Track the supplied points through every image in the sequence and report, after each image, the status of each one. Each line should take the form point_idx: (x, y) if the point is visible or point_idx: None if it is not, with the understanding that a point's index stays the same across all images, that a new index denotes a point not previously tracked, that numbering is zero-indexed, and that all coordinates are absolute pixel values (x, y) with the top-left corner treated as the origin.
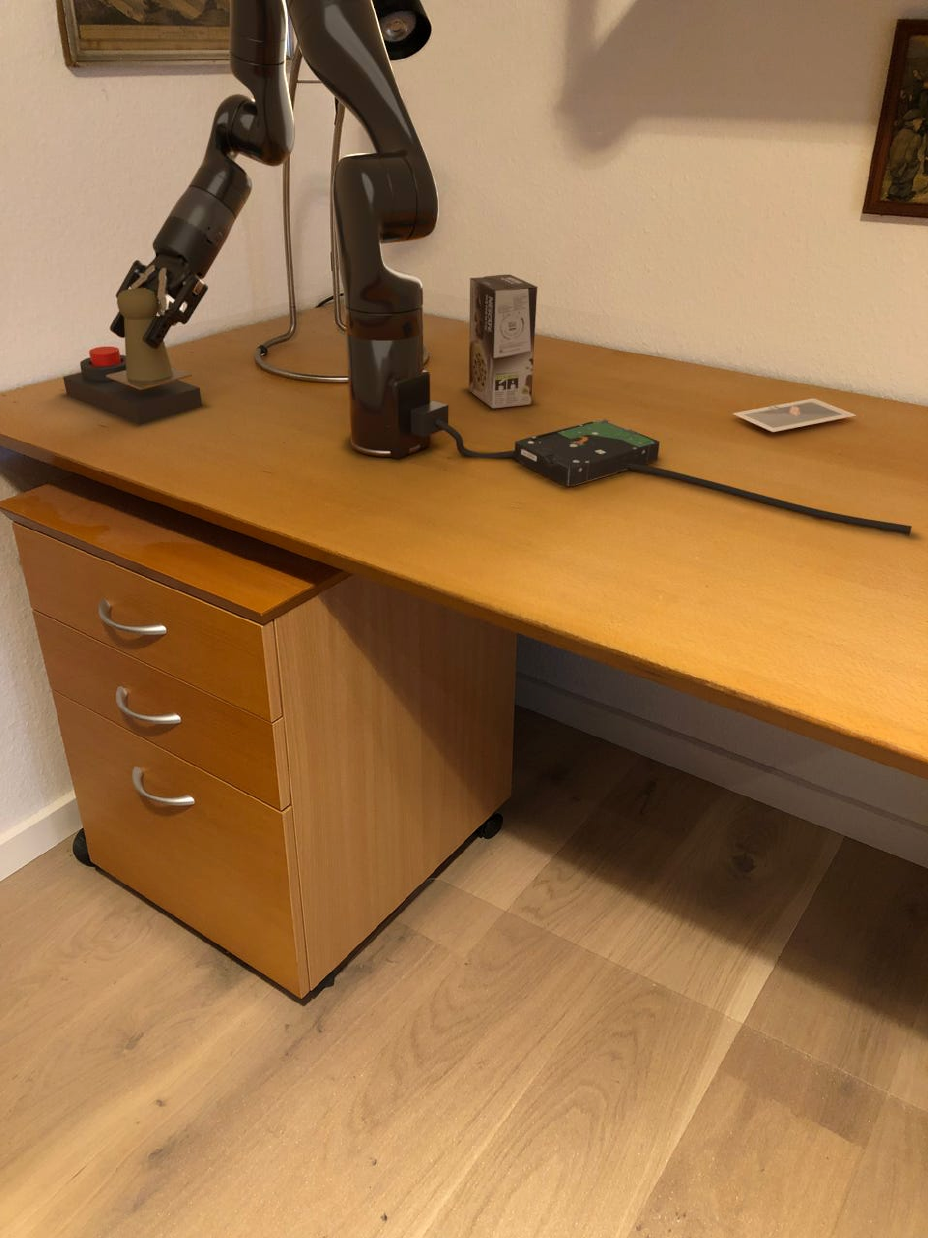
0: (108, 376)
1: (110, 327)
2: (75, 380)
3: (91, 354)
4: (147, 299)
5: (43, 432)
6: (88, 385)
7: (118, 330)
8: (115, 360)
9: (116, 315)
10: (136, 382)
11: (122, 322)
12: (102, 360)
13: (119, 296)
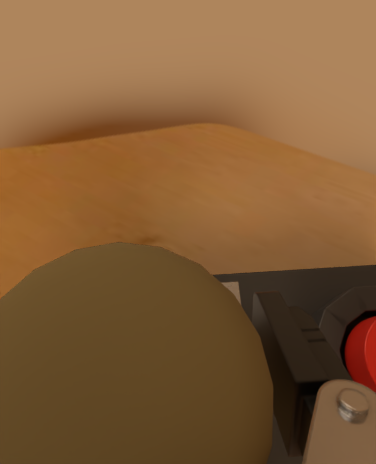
0: (226, 282)
1: (274, 291)
2: (360, 270)
3: None
4: None
5: (195, 157)
6: (301, 274)
7: (256, 321)
8: (356, 372)
9: (328, 344)
10: None
11: (265, 345)
12: (359, 330)
13: (142, 249)
